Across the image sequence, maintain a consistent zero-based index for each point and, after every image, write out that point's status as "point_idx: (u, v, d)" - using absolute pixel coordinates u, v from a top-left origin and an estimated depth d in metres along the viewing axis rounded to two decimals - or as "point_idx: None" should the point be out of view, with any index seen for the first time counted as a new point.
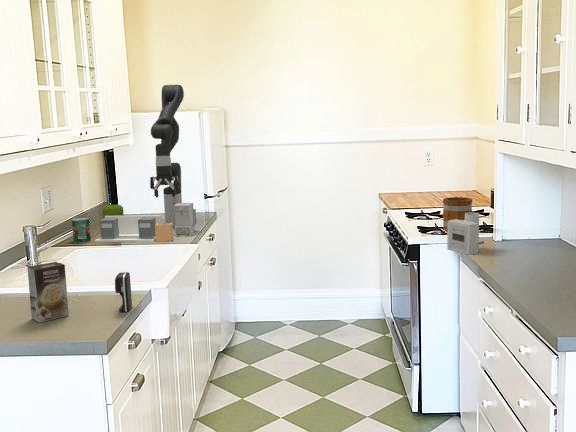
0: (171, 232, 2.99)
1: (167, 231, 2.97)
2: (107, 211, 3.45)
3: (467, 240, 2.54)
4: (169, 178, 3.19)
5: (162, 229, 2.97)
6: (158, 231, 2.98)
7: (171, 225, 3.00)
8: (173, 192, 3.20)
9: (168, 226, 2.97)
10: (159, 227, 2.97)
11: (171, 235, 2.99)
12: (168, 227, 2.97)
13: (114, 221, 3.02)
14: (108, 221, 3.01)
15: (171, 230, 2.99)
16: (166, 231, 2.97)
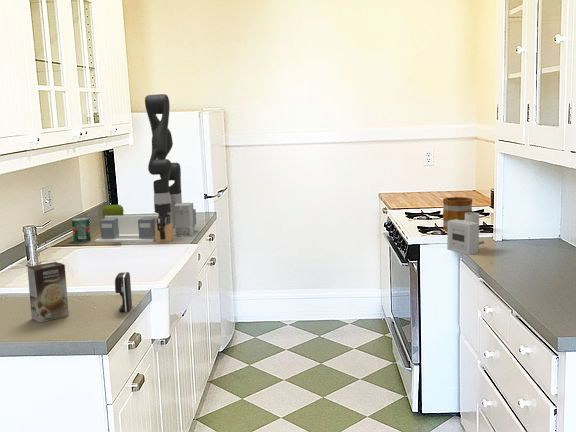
0: (171, 232, 2.99)
1: (167, 231, 2.97)
2: (107, 211, 3.45)
3: (467, 240, 2.54)
4: (167, 216, 3.02)
5: None
6: (158, 231, 2.98)
7: (171, 225, 3.00)
8: None
9: (168, 226, 2.97)
10: None
11: (171, 235, 2.99)
12: (168, 227, 2.97)
13: (114, 221, 3.02)
14: (108, 221, 3.01)
15: (171, 230, 2.99)
16: (166, 231, 2.97)
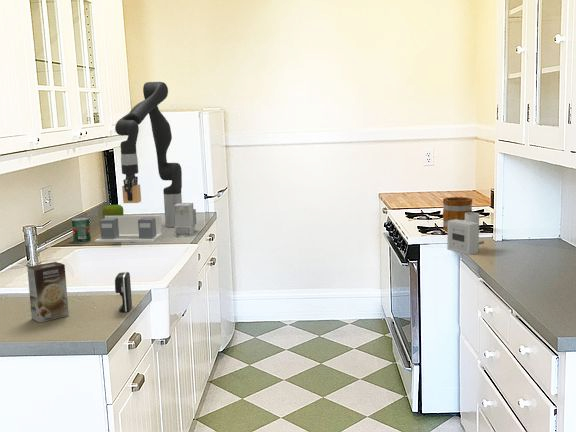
0: (138, 193, 3.00)
1: (134, 192, 2.97)
2: (107, 211, 3.45)
3: (467, 240, 2.54)
4: None
5: None
6: (125, 192, 2.98)
7: (138, 186, 3.00)
8: None
9: (135, 187, 2.97)
10: None
11: (138, 196, 2.99)
12: (135, 188, 2.97)
13: (114, 221, 3.02)
14: (108, 221, 3.01)
15: (138, 191, 3.00)
16: (133, 192, 2.97)
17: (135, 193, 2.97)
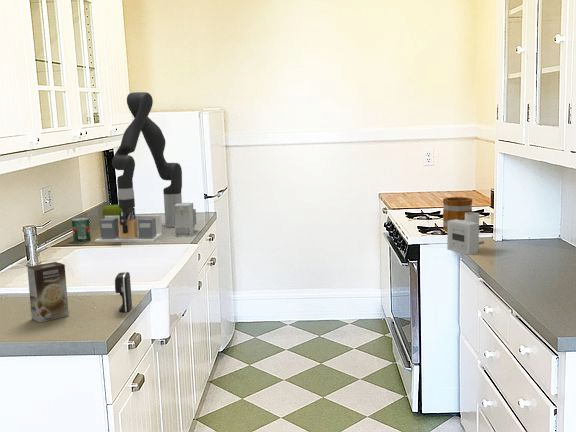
0: (135, 228, 3.03)
1: (131, 227, 3.01)
2: (107, 211, 3.45)
3: (467, 240, 2.54)
4: (131, 210, 3.05)
5: None
6: (122, 227, 3.01)
7: (135, 221, 3.03)
8: None
9: (132, 222, 3.00)
10: None
11: (135, 231, 3.03)
12: (131, 223, 3.00)
13: (114, 221, 3.02)
14: (108, 221, 3.01)
15: (135, 226, 3.03)
16: (130, 227, 3.01)
17: (131, 228, 3.01)
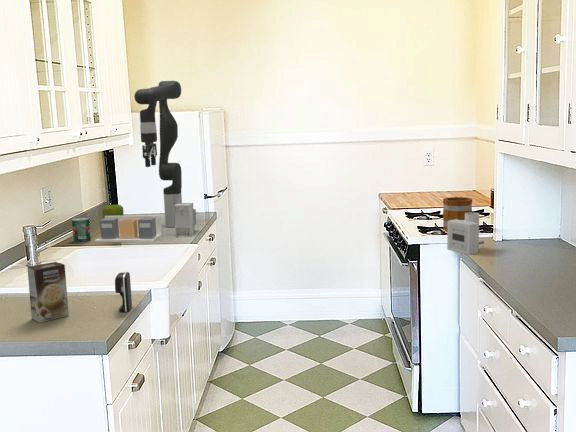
0: (135, 228, 3.03)
1: (131, 227, 3.01)
2: (107, 211, 3.45)
3: (467, 240, 2.54)
4: (153, 145, 3.08)
5: (126, 225, 3.01)
6: (122, 227, 3.01)
7: (135, 221, 3.03)
8: None
9: (132, 222, 3.00)
10: (123, 223, 3.01)
11: (135, 231, 3.03)
12: (131, 223, 3.00)
13: (114, 221, 3.02)
14: (108, 221, 3.01)
15: (135, 226, 3.03)
16: (130, 227, 3.01)
17: (131, 228, 3.01)
